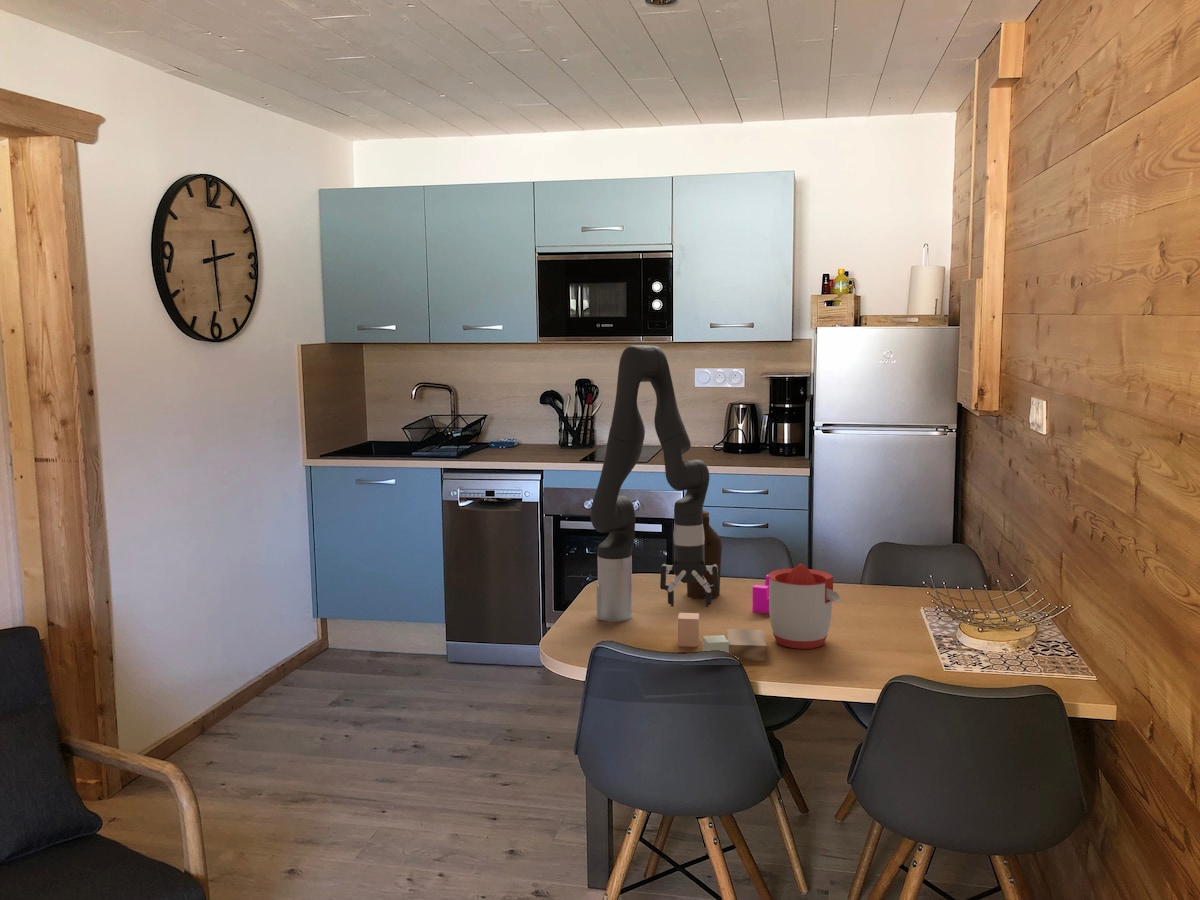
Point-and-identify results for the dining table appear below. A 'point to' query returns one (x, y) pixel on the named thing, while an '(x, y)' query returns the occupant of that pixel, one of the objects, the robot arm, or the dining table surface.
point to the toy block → (761, 597)
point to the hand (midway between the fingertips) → (689, 606)
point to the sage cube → (715, 643)
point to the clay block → (688, 629)
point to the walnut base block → (747, 644)
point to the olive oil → (708, 561)
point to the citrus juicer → (801, 606)
